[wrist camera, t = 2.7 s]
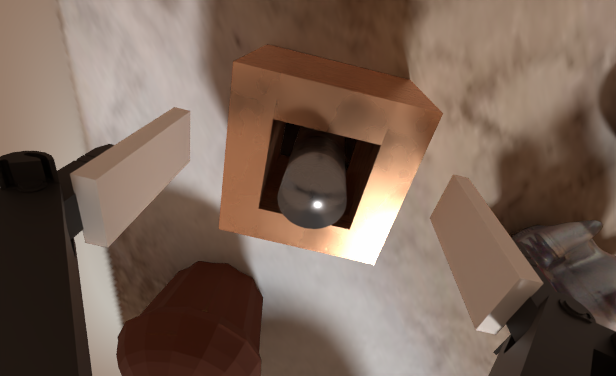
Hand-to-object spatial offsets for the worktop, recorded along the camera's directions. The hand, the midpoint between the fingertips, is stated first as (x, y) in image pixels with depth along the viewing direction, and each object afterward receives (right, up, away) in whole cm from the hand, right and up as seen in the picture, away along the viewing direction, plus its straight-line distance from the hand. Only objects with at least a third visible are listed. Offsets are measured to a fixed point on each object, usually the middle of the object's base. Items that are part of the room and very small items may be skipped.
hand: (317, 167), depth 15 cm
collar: (0, +3, +6) cm, 6 cm away
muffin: (-9, -11, +15) cm, 21 cm away
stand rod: (0, +3, +6) cm, 6 cm away
